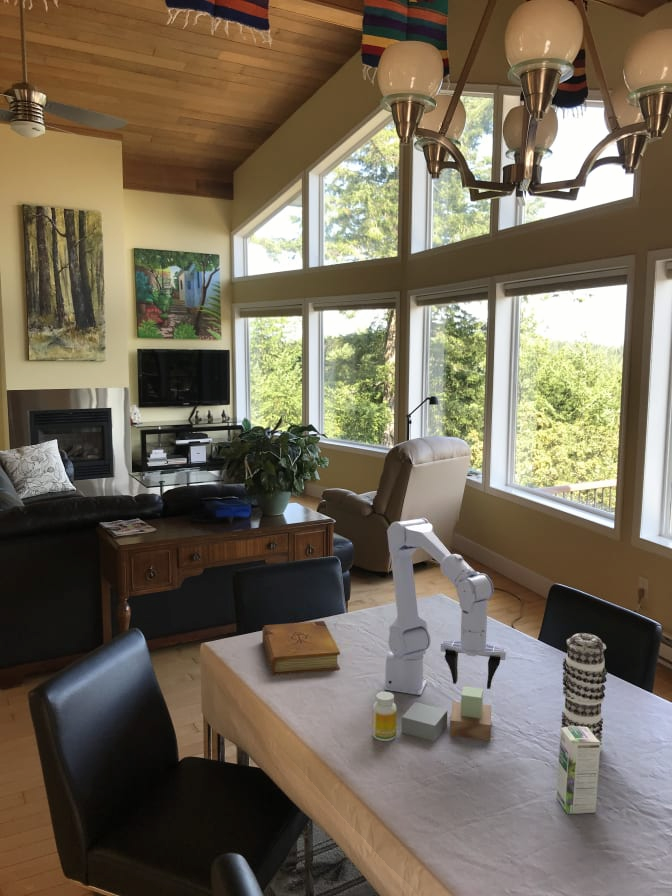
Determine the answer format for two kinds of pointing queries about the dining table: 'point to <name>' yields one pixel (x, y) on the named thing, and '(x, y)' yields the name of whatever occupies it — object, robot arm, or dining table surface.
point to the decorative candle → (584, 683)
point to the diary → (300, 648)
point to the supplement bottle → (384, 717)
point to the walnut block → (470, 723)
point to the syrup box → (578, 770)
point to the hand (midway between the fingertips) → (471, 684)
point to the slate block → (424, 721)
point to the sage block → (471, 702)
